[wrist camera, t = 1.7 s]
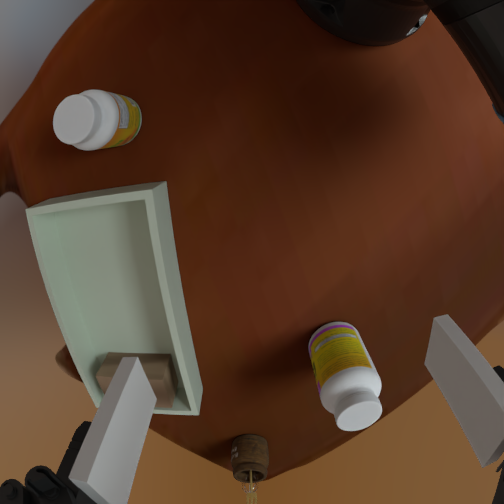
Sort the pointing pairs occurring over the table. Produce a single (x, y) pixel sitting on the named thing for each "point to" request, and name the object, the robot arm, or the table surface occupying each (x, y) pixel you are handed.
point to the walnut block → (155, 369)
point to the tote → (116, 282)
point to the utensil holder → (250, 461)
